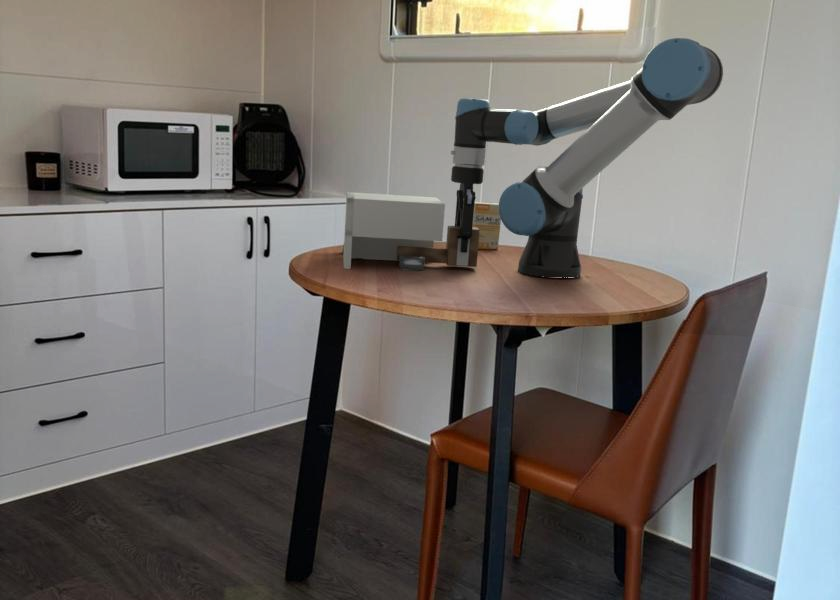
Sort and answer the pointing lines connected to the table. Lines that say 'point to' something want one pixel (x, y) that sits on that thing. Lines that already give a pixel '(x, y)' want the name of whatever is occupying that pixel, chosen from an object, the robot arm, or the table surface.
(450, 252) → the tan block on stick
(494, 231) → the supplement box
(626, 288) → the table surface
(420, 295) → the table surface
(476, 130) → the robot arm
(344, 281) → the table surface
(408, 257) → the shiny grey metal dome
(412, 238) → the shelf cabinet
